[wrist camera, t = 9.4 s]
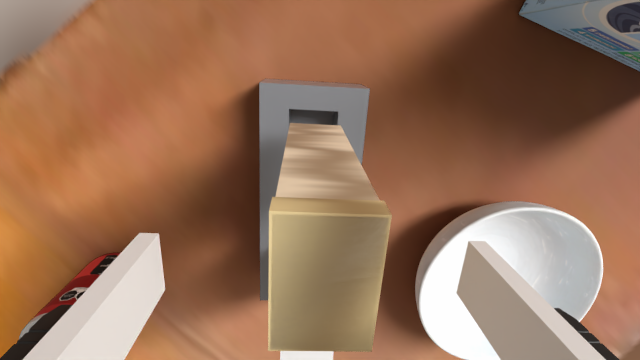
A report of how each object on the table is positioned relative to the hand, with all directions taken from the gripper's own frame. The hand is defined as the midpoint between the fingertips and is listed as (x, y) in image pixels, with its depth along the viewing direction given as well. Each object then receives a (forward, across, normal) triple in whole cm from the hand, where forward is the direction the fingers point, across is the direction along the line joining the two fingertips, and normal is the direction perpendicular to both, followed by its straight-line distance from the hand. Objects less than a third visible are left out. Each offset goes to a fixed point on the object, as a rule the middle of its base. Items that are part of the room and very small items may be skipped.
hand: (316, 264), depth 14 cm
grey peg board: (+24, 0, +6) cm, 25 cm away
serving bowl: (+24, -24, +15) cm, 37 cm away
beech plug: (+14, 0, 0) cm, 14 cm away
